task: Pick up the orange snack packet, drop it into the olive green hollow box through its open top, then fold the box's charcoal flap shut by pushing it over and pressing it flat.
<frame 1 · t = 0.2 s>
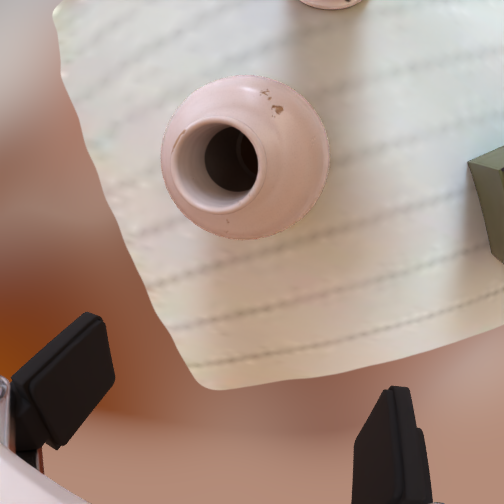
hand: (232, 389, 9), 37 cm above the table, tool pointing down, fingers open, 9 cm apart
vase: (270, 149, 42), on the table
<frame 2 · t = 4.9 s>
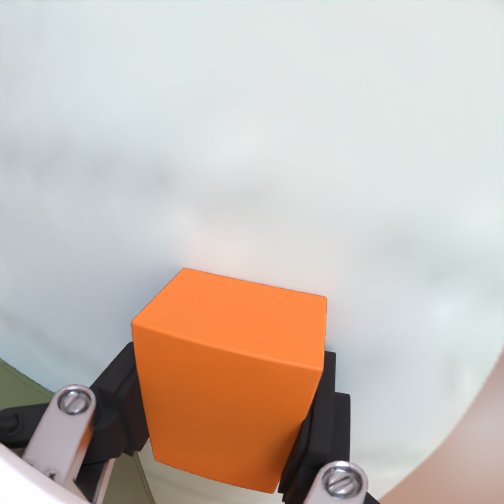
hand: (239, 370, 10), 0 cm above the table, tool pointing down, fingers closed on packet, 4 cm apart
olive green hollow box: (75, 450, 18), on the table
packet: (242, 363, 11), on the table, touching gripper
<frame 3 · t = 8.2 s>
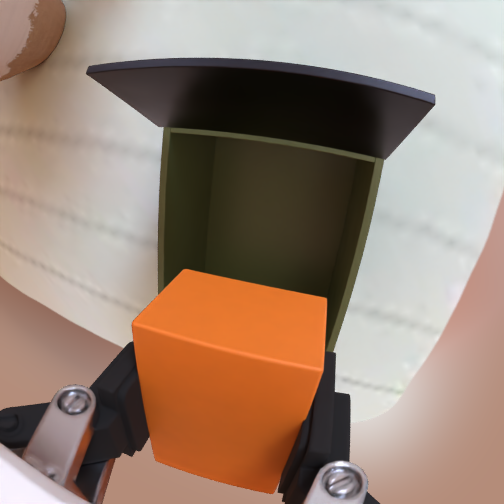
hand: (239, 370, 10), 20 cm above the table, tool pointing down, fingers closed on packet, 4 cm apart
flap: (256, 106, 13), point 14 cm above the table, hinge at 110.0°
vase: (42, 32, 26), on the table
olive green hollow box: (275, 217, 28), on the table
packet: (242, 364, 11), point 19 cm above the table, touching gripper
when the fingers open (8 cm above the table, at t = 11.3 s): packet drops 7 cm, resting on olive green hollow box.
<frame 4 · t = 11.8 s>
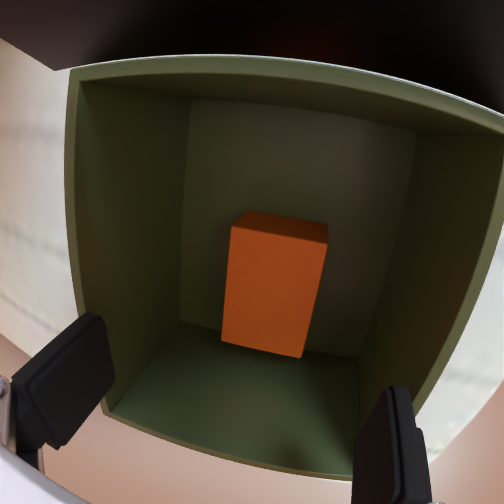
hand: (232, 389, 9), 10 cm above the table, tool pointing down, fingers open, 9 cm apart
olive green hollow box: (285, 236, 18), on the table
packet: (278, 271, 18), resting on olive green hollow box
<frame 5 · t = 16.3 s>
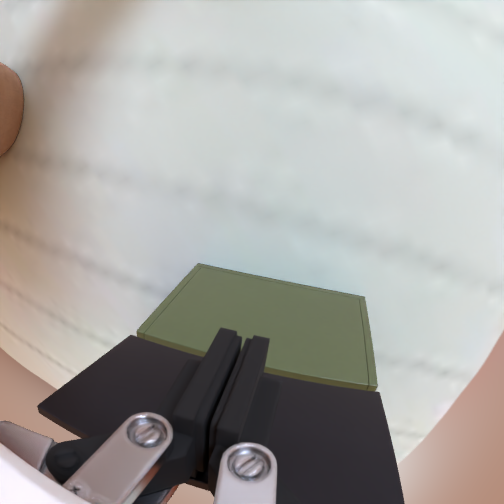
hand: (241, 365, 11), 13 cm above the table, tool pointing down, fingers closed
flap: (230, 417, 11), point 14 cm above the table, hinge at 101.7°, touching gripper
vase: (2, 111, 24), on the table
olive green hollow box: (266, 355, 27), on the table
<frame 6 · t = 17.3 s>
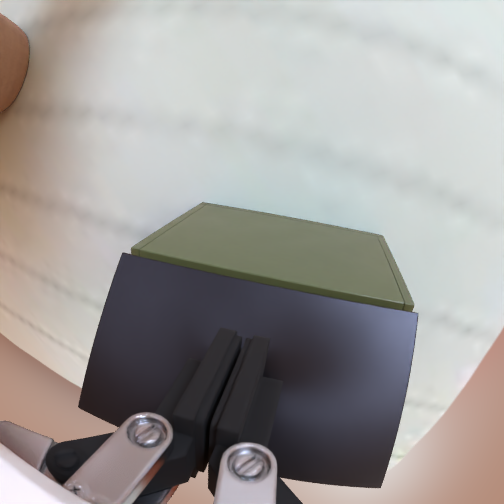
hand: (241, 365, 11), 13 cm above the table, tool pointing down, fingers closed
flap: (241, 375, 11), point 13 cm above the table, hinge at 43.1°, touching gripper
vase: (6, 69, 22), on the table
olive green hollow box: (275, 309, 25), on the table
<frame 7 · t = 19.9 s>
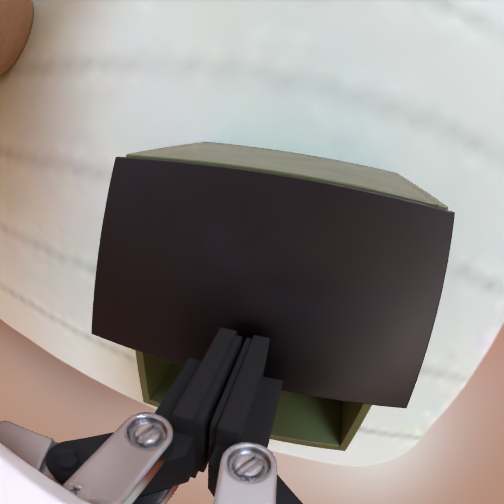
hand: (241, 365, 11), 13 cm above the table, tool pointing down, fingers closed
flap: (258, 282, 11), point 11 cm above the table, hinge at 20.1°
vase: (9, 34, 20), on the table
olive green hollow box: (284, 260, 23), on the table
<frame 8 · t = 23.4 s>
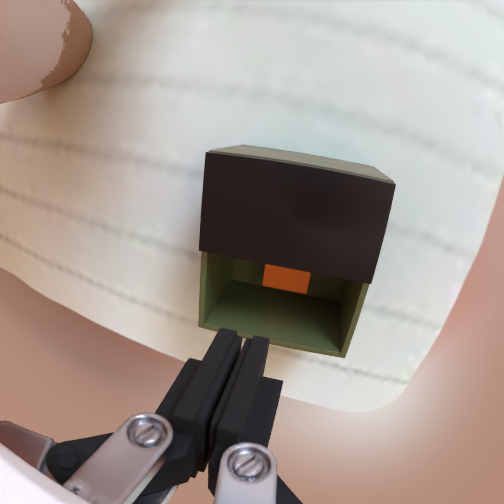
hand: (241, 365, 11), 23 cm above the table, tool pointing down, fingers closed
flap: (292, 217, 22), point 10 cm above the table, hinge at -0.3°
vase: (67, 47, 30), on the table
olive green hollow box: (296, 227, 32), on the table
packet: (293, 247, 33), resting on olive green hollow box
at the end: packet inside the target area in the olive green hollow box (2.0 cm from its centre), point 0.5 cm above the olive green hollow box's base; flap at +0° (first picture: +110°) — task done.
